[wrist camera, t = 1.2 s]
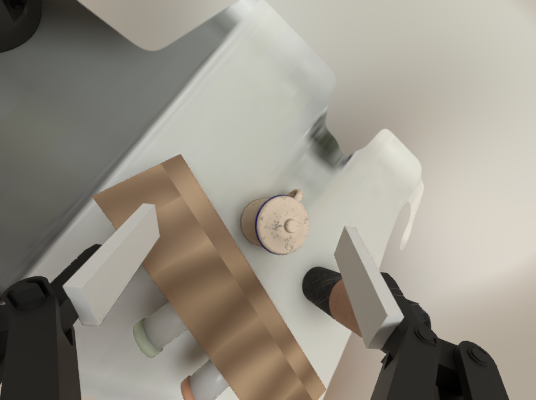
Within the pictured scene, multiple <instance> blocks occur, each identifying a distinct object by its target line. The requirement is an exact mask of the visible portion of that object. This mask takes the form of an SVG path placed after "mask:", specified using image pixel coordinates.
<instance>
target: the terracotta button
mask: <svg viewBox="0 0 536 400" xmlns="http://www.w3.org/2000/svg"><path fill="white" fill-rule="evenodd" d="M228 386H229V384H228V383H227V382H226V380H225V379H224V378H223V376H222V375H221V373H220V372H219V371H218V369H217V368H216V366H215V365H214V364H213V362H212V361H211V360H209V361H207V362H206V363H205V364H204V365H203V366H202V367H201V368H200V369H198V370H197V371H196V372H195V373H194V374H193V375H192V376H188V377H187V378H186V379H185V380H183V381H182V382H181V392H182V396H183V399H184V400H215V399H216V398H217V397H218V396H219V395H220V394H221V393H222V392H223V391H224V390H225V389H226V388H227V387H228Z"/></svg>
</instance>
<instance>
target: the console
mask: <svg viewBox="0 0 536 400" xmlns="http://www.w3.org/2000/svg"><path fill="white" fill-rule="evenodd" d="M92 197H93V198H94V200H95V201H96V202H97V204H98V205H99V207H100V208H101V209H102V211H103V212H104V213H105V215H106V216H107V218H108V219H109V220H110V222H111V223H112V225H113V226H114V227H115V229H116V230H118V229H119V228H120V227H121V226H122V225H123V224H124V223H125V222H126V220H127V219H128V218H129V217H130V216H131V215H132V214H133V213H134V212H135V211H136V210H137V209H138V208H139V207H140V206H141V205H142V204H143V203H145V204H154V205H155V209H156V215H157V222H158V228H159V235H160V237H159V238H158V240H157V241H156V243H155V244H154V246H153V247H152V249H151V250H150V251H149V253H148V254H147V256H146V257H145V259H144V260H143V262H142V263H141V264H142V266H143V267H144V269H145V270H146V271H147V273H148V274H149V276H150V277H151V278H152V280H153V281H154V282H155V284H156V285H157V287H158V288H159V289H160V291H161V292H162V293H163V295H164V296H165V298H166V299H167V300H168V302H169V303H170V304H171V306H172V307H173V309H174V310H175V311H176V313H177V314H178V315H179V317H180V318H181V320H182V321H183V322H184V324H185V325H186V327H187V328H188V329H189V331H190V332H191V333H192V335H193V336H194V338H195V339H196V340H197V342H198V343H199V344H200V346H201V347H202V349H203V350H204V351H205V353H206V354H207V355H208V357H209V358H210V360H211V361H212V362H213V364H214V365H215V366H216V368H217V369H218V371H219V372H220V373H221V375H222V376H223V378H224V379H225V380H226V382H227V383H228V384H229V386H230V387H231V389H232V390H233V391H234V393H235V394H236V395H237V397H238V398H239V400H318V399H319V398H320V396H321V395H322V394H323V393H324V392H325V390H326V388H325V386H324V385H323V383H322V381H321V380H320V378H319V377H318V375H317V373H316V372H315V370H314V369H313V367H312V365H311V364H310V362H309V360H308V359H307V357H306V356H305V354H304V352H303V351H302V349H301V348H300V346H299V344H298V343H297V341H296V339H295V338H294V336H293V335H292V333H291V331H290V330H289V328H288V327H287V325H286V323H285V322H284V320H283V319H282V317H281V315H280V314H279V312H278V310H277V309H276V307H275V306H274V304H273V302H272V301H271V299H270V298H269V296H268V294H267V293H266V291H265V289H264V288H263V286H262V285H261V283H260V281H259V280H258V278H257V277H256V275H255V273H254V272H253V270H252V268H251V267H250V265H249V264H248V262H247V260H246V259H245V257H244V256H243V254H242V252H241V251H240V249H239V247H238V246H237V244H236V243H235V241H234V239H233V238H232V236H231V235H230V233H229V231H228V230H227V228H226V226H225V225H224V223H223V222H222V220H221V218H220V217H219V215H218V214H217V212H216V210H215V209H214V207H213V205H212V204H211V202H210V201H209V199H208V197H207V196H206V194H205V193H204V191H203V189H202V188H201V186H200V184H199V183H198V181H197V180H196V178H195V176H194V175H193V173H192V172H191V170H190V168H189V167H188V165H187V163H186V162H185V160H184V159H183V157H182V155H181V154H180V155H177V156H175V157H173V158H171V159H169V160H167V161H165V162H163V163H161V164H159V165H157V166H154V167H152V168H150V169H148V170H146V171H144V172H142V173H140V174H138V175H136V176H133V177H131V178H129V179H127V180H125V181H123V182H121V183H119V184H117V185H115V186H113V187H110V188H108V189H106V190H104V191H102V192H100V193H98V194H96V195H94V196H92Z"/></svg>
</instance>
